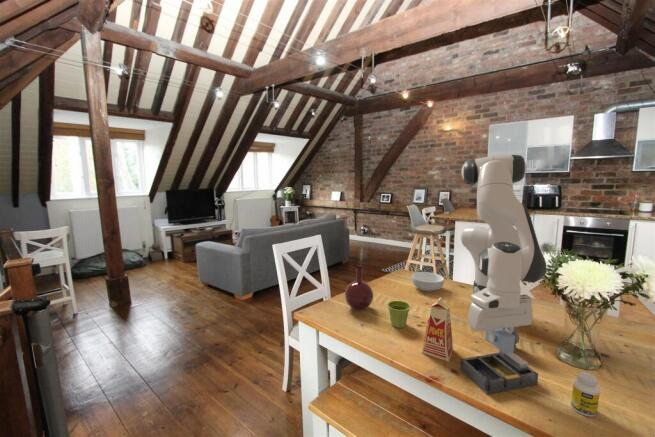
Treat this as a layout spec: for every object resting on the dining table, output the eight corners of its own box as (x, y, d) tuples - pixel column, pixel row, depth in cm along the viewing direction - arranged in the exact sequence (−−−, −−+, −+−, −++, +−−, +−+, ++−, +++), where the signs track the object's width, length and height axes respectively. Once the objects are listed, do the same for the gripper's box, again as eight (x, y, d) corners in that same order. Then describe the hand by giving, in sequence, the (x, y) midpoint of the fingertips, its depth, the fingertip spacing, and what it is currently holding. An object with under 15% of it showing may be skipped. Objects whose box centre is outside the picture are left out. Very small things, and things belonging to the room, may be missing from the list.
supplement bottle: (577, 416, 80) (581, 381, 79) (566, 401, 85) (570, 368, 84) (601, 419, 79) (606, 384, 78) (588, 403, 84) (592, 371, 83)
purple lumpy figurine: (488, 341, 116) (490, 311, 114) (508, 340, 116) (510, 310, 115) (502, 354, 107) (504, 322, 106) (523, 353, 108) (526, 321, 106)
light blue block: (493, 338, 98) (494, 323, 98) (513, 352, 91) (514, 336, 90) (485, 339, 98) (486, 324, 97) (504, 353, 90) (506, 337, 89)
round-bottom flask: (341, 304, 150) (341, 265, 147) (366, 301, 153) (366, 262, 150) (350, 316, 137) (350, 273, 134) (377, 312, 141) (378, 270, 138)
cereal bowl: (439, 297, 157) (439, 284, 156) (407, 291, 166) (407, 278, 165) (446, 287, 171) (447, 274, 170) (416, 281, 180) (417, 270, 179)
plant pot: (410, 331, 124) (411, 310, 123) (386, 329, 126) (387, 309, 125) (409, 320, 133) (409, 301, 132) (387, 318, 135) (387, 299, 134)
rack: (460, 368, 100) (461, 351, 99) (505, 361, 104) (507, 344, 103) (486, 394, 88) (488, 375, 87) (537, 384, 92) (538, 366, 91)
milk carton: (448, 361, 104) (451, 305, 101) (421, 353, 109) (422, 299, 106) (453, 348, 112) (456, 295, 109) (427, 341, 116) (429, 290, 114)
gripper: (522, 290, 97) (519, 331, 99) (466, 295, 93) (463, 338, 95) (540, 298, 91) (536, 341, 93) (480, 304, 87) (477, 349, 89)
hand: (499, 340), depth 94 cm, fingers closed on light blue block, 3 cm apart
